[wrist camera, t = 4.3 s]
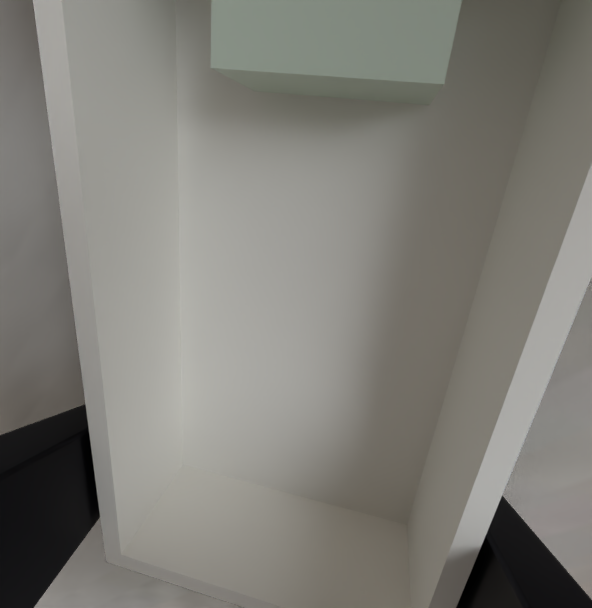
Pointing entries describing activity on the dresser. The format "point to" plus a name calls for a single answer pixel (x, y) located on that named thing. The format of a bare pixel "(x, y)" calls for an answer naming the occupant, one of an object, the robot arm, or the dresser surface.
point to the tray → (315, 297)
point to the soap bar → (336, 47)
